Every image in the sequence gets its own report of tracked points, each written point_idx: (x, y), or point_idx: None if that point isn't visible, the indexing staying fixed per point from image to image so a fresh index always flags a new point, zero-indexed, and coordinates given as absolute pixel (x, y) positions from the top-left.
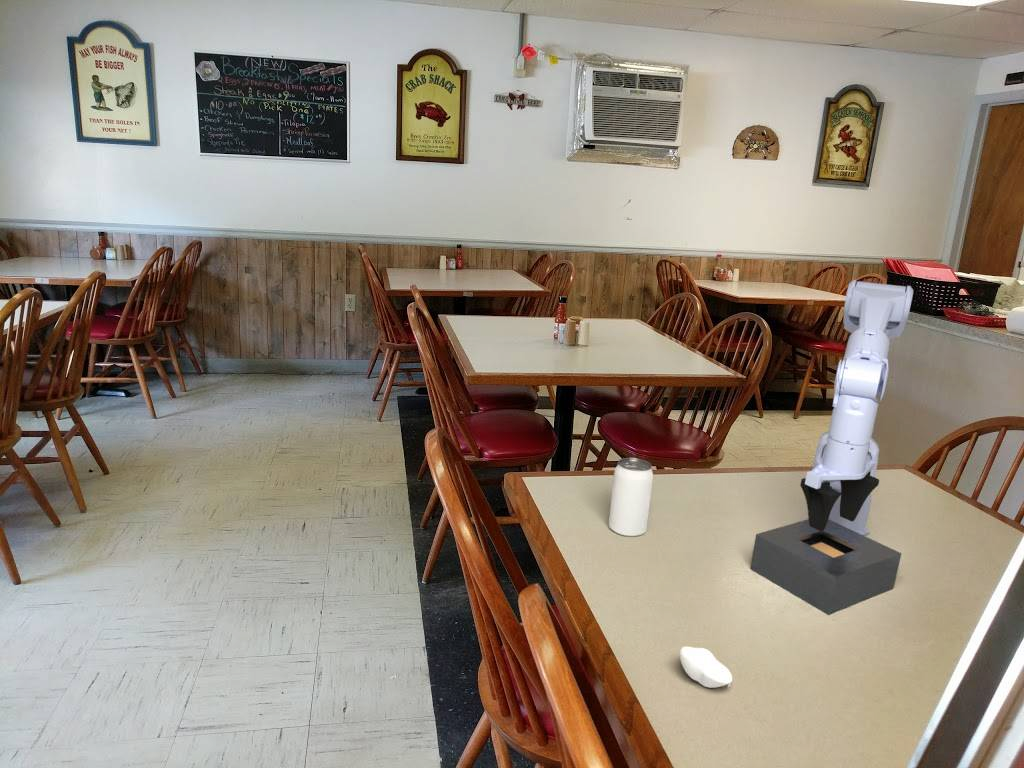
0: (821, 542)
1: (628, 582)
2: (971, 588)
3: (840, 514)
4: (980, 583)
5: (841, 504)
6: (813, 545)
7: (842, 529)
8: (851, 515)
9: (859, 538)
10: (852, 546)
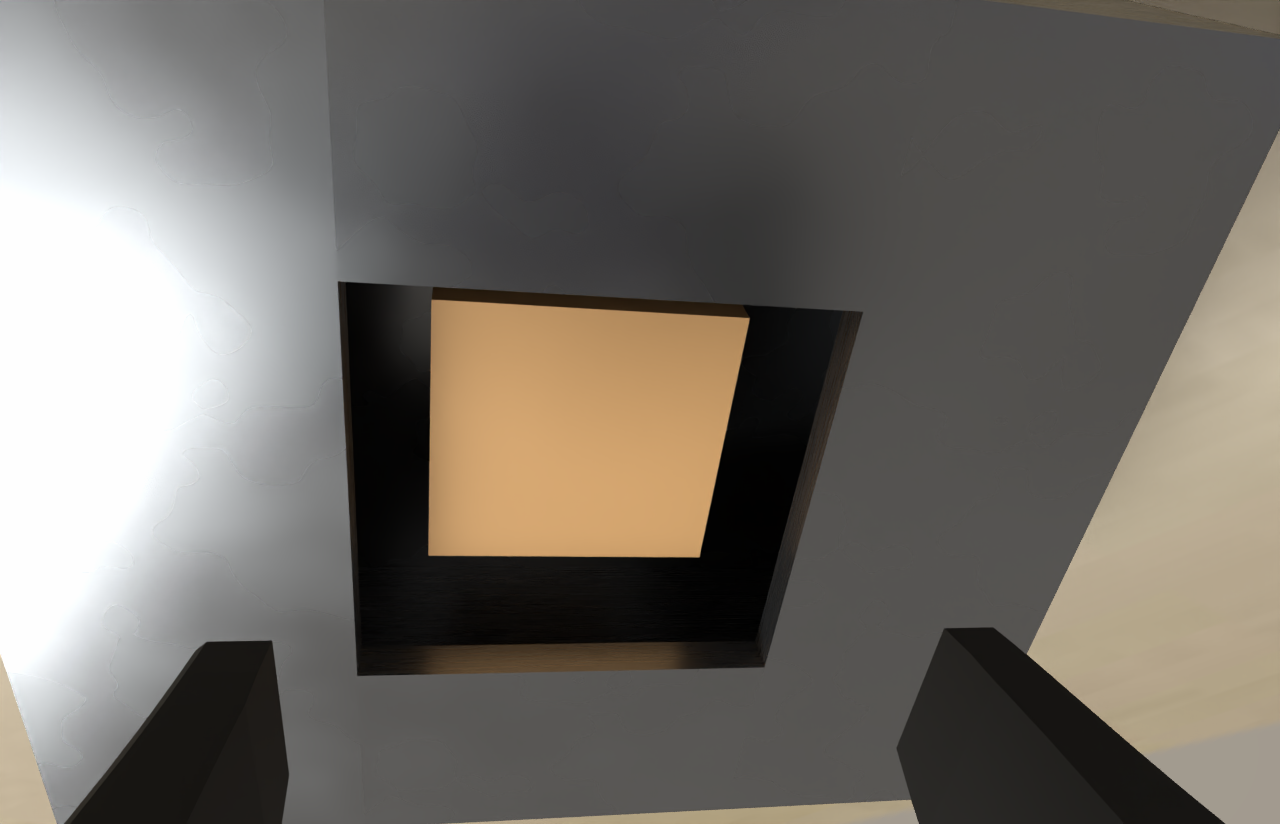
0: (739, 323)
1: None
2: (1169, 720)
3: (954, 652)
4: (1256, 714)
5: (1046, 764)
6: (592, 322)
7: (1073, 397)
8: (929, 806)
9: (979, 569)
10: (773, 606)
